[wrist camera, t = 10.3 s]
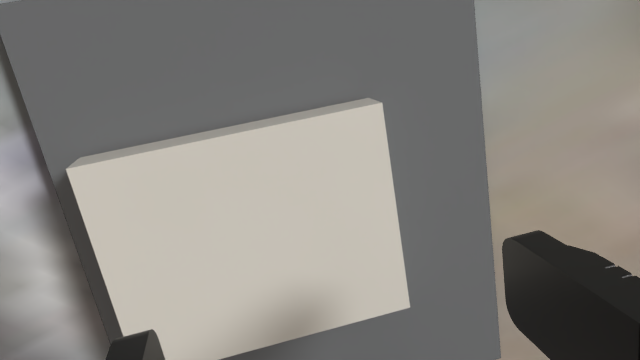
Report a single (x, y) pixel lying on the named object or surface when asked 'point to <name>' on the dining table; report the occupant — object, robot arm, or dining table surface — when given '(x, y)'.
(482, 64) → the dining table surface
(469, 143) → the mat
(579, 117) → the dining table surface
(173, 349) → the tile
